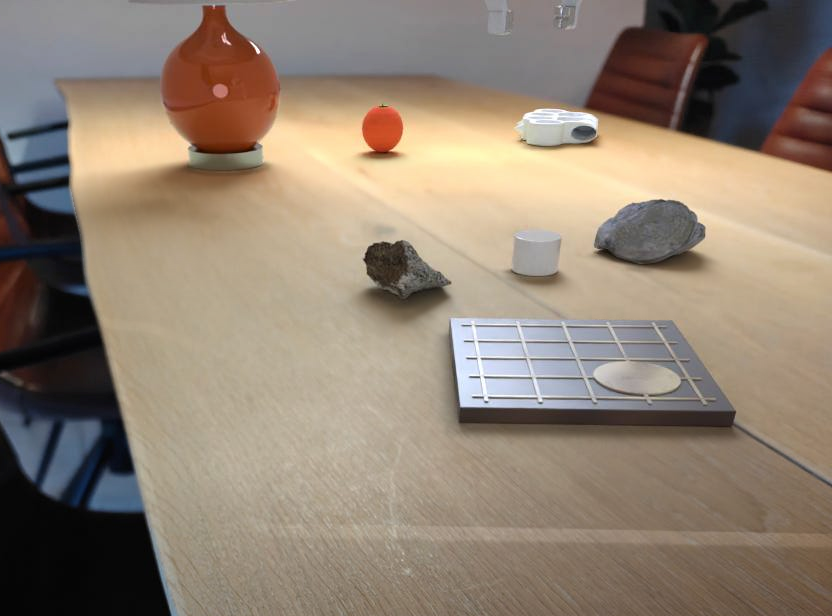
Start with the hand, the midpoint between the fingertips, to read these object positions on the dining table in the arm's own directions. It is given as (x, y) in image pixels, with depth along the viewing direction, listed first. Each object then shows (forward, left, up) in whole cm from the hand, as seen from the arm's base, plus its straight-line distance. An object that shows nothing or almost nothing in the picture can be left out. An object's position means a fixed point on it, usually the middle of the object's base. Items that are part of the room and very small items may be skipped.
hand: (532, 31), depth 85 cm
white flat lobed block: (-16, -84, -22) cm, 88 cm away
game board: (-3, +30, -22) cm, 37 cm away
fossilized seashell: (-17, -7, -22) cm, 28 cm away
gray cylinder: (-3, 0, -22) cm, 22 cm away
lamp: (+40, -59, -22) cm, 75 cm away
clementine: (+15, -70, -22) cm, 75 cm away
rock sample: (+11, +8, -22) cm, 26 cm away
